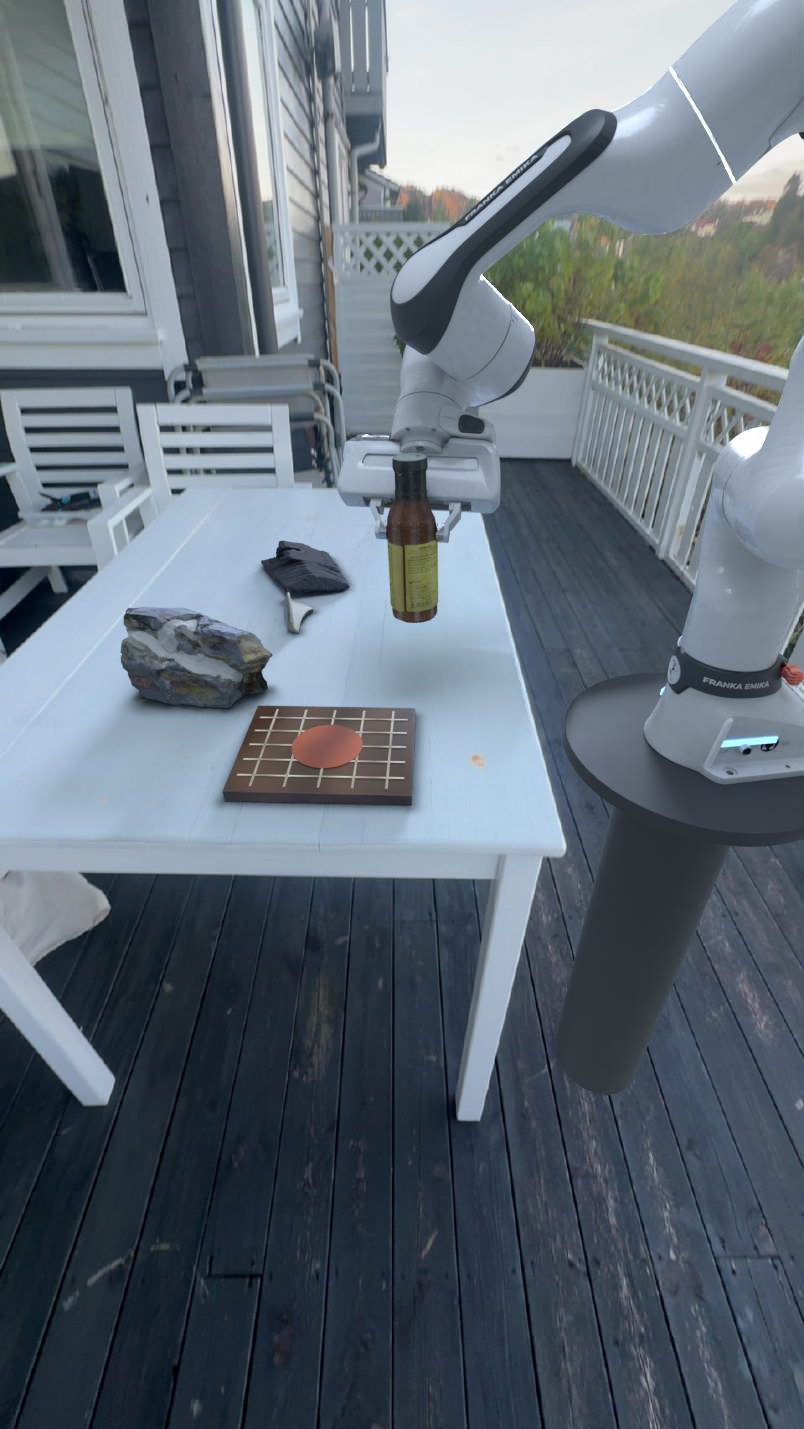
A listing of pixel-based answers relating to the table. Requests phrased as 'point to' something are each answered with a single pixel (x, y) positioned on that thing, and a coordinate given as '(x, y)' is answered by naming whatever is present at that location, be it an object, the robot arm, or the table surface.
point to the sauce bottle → (412, 543)
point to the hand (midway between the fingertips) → (411, 539)
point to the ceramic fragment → (295, 613)
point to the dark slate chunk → (304, 569)
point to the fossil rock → (191, 658)
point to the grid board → (326, 756)
